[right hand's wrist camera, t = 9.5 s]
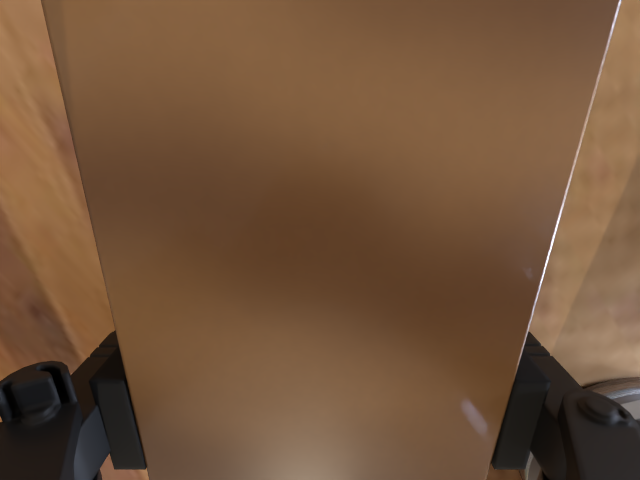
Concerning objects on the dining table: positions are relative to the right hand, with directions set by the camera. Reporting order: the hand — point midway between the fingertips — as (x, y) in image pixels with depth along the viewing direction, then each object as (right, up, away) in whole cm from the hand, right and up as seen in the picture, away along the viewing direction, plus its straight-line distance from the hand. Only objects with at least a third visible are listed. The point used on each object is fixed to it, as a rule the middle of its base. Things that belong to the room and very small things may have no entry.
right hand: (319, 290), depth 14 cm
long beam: (+1, +28, -10) cm, 29 cm away
